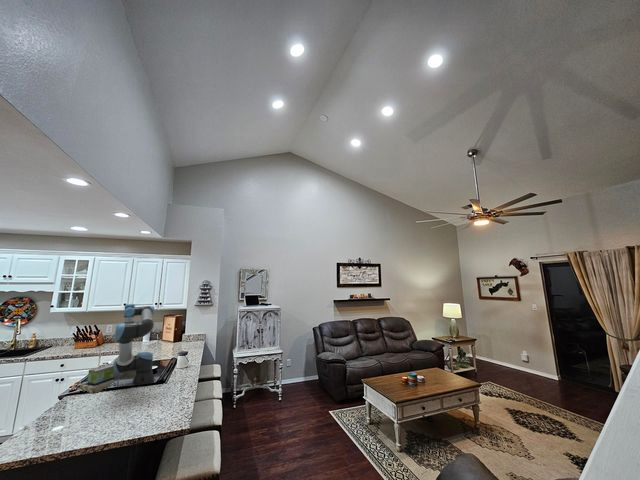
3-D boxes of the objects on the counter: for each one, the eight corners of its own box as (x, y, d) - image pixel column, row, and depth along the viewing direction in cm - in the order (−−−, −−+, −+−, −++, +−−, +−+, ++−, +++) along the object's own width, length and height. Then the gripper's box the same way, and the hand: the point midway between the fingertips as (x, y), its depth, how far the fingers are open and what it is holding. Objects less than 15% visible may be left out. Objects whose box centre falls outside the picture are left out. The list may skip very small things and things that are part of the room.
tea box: (95, 390, 215) (96, 370, 217) (86, 389, 218) (87, 369, 220) (114, 383, 229) (116, 364, 231) (106, 382, 232) (107, 363, 234)
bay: (108, 388, 219) (108, 383, 219) (93, 393, 210) (93, 388, 210) (94, 385, 226) (94, 380, 226) (79, 390, 217) (80, 384, 217)
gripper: (133, 320, 254) (131, 346, 251) (118, 322, 242) (116, 350, 239) (138, 320, 251) (137, 347, 248) (124, 323, 239) (122, 351, 236)
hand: (127, 349), depth 244 cm, fingers closed
